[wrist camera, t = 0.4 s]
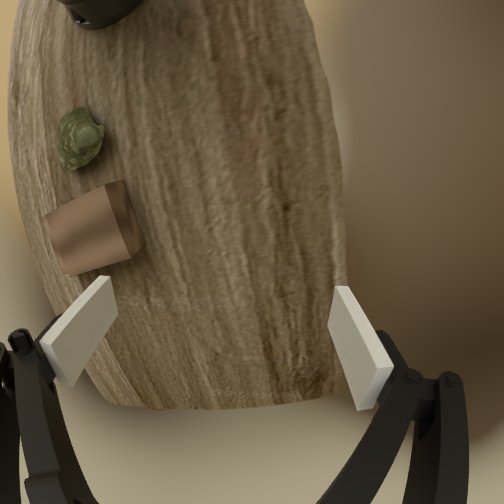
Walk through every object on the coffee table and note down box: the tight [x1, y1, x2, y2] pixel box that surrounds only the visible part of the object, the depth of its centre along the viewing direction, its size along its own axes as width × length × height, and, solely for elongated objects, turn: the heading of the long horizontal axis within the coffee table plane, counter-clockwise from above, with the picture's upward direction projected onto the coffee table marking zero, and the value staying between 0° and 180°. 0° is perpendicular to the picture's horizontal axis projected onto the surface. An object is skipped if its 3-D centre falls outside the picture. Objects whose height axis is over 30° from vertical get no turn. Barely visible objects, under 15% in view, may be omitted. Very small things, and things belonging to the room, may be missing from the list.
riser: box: [42, 180, 145, 277], centre depth 38 cm, size 11×17×6 cm, turn 105°
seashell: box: [56, 107, 105, 170], centre depth 34 cm, size 10×7×10 cm
